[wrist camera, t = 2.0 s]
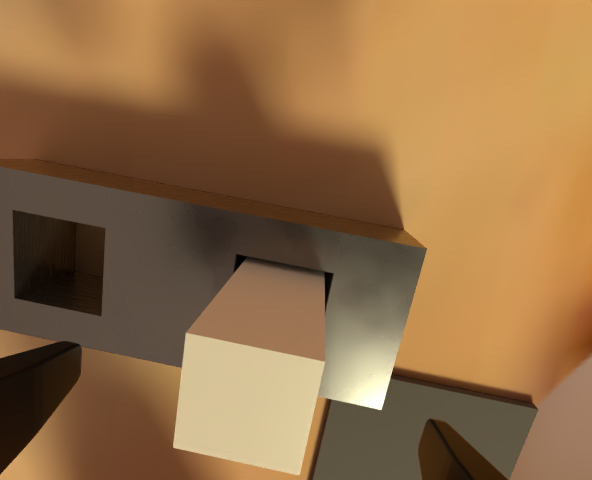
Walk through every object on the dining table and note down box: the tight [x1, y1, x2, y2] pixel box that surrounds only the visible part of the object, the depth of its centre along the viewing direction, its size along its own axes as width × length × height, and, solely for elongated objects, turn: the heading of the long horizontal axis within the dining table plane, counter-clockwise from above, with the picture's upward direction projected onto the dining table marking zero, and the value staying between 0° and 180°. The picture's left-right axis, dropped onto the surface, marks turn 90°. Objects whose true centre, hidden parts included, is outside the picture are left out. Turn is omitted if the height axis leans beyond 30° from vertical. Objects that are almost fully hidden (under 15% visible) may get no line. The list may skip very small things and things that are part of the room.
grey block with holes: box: [0, 159, 427, 410], centre depth 15 cm, size 7×18×4 cm, turn 80°
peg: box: [173, 256, 325, 475], centre depth 12 cm, size 3×3×9 cm
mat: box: [312, 374, 538, 480], centre depth 18 cm, size 12×10×1 cm
